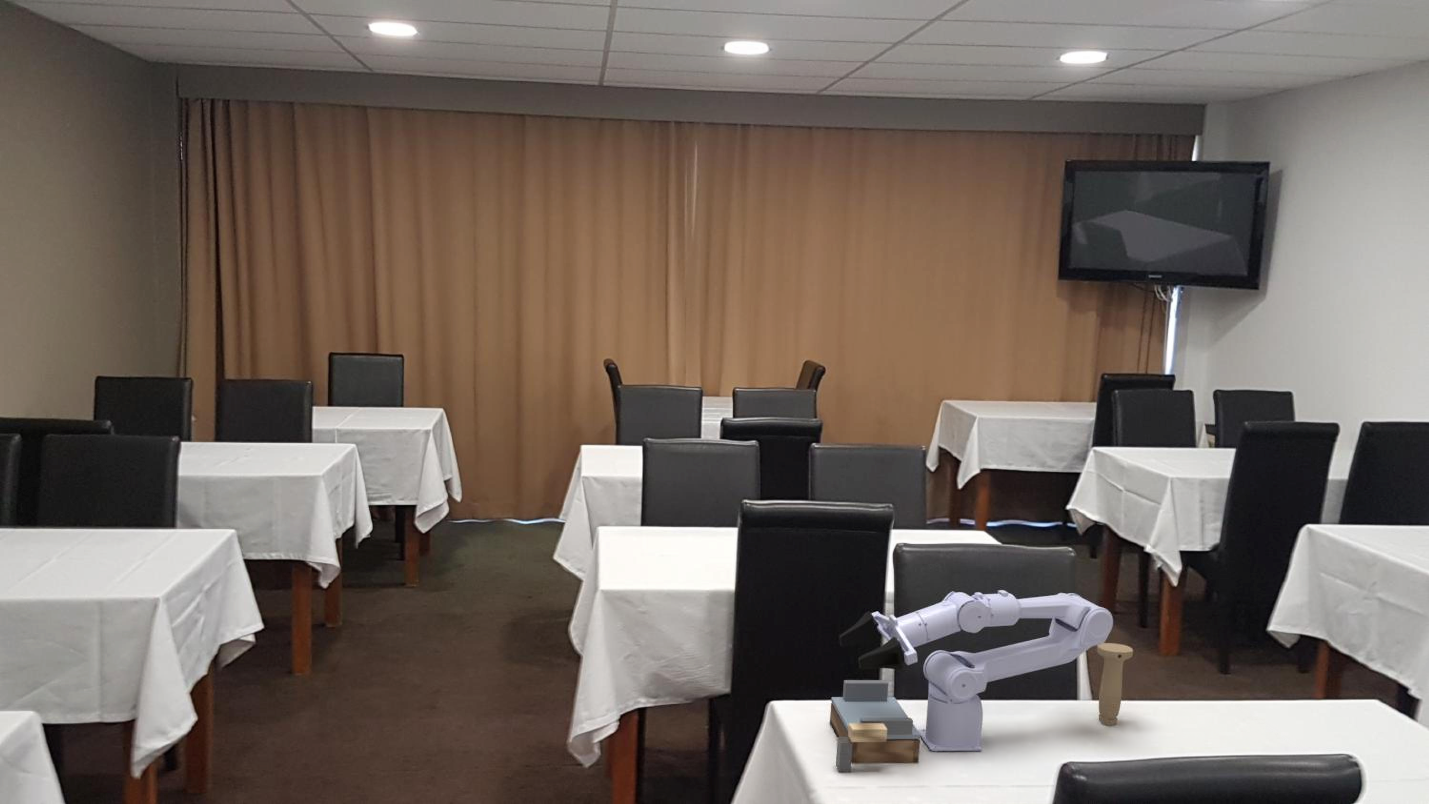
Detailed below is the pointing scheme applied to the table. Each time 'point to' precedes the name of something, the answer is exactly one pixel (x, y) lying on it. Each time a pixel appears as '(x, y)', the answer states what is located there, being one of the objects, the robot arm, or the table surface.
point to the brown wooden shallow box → (877, 746)
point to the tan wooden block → (867, 732)
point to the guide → (844, 755)
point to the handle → (1111, 680)
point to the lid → (873, 708)
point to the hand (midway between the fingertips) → (849, 652)
